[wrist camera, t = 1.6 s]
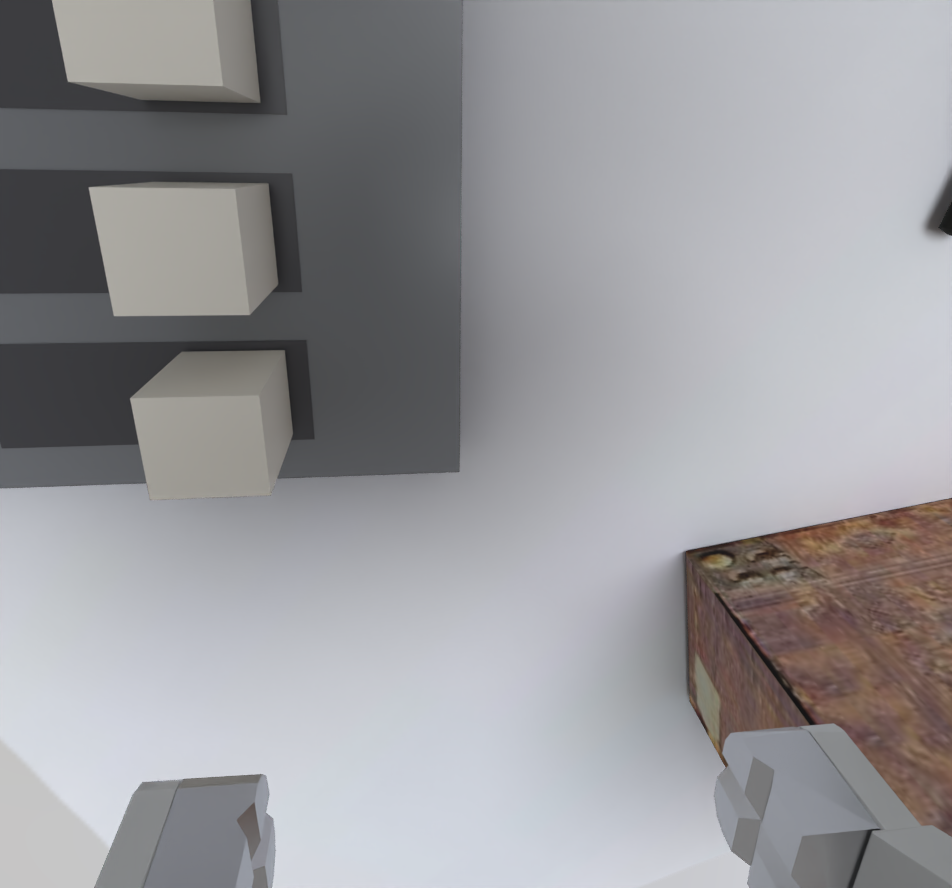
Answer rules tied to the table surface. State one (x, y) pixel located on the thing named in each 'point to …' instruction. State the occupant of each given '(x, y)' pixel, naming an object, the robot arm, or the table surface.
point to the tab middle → (186, 247)
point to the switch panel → (294, 228)
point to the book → (835, 642)
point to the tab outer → (214, 424)
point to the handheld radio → (947, 221)
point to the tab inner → (161, 48)
